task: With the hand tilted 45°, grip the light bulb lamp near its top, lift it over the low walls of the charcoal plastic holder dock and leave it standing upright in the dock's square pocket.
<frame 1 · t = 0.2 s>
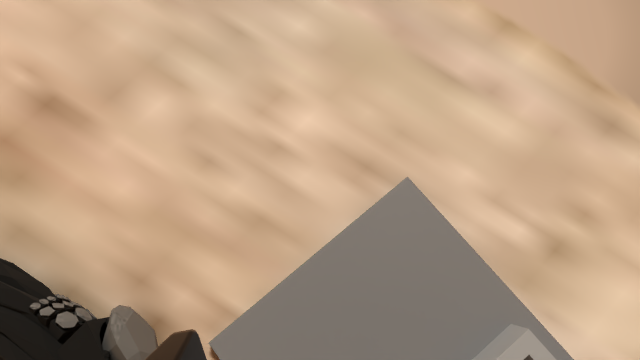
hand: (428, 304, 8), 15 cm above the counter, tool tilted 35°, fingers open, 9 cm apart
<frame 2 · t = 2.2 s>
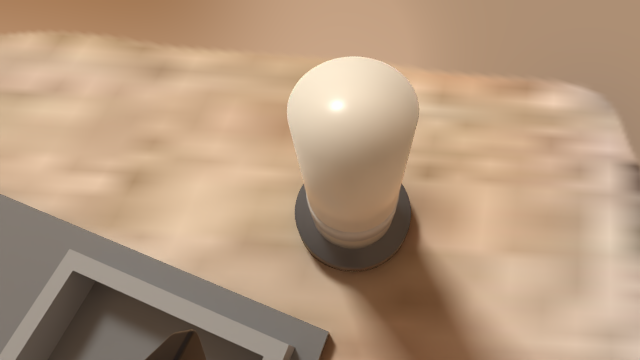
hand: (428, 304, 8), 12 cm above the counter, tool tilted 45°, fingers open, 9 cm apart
light bulb lamp: (352, 216, 22), on the counter
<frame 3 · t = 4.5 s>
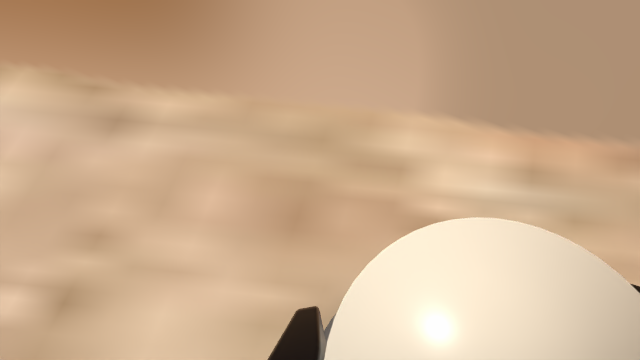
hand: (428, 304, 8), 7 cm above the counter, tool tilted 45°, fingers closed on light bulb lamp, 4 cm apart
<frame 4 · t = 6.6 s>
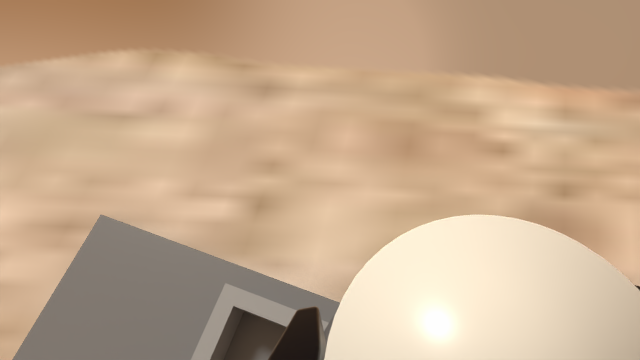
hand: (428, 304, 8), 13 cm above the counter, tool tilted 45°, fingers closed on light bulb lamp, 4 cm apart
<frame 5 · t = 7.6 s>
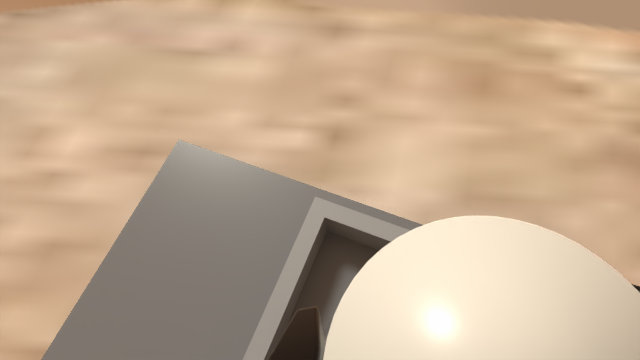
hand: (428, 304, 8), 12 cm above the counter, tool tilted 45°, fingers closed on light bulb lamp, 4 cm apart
when the fingers open (9 cm above the counter, at t = 8.6 s): light bulb lamp stays where it is, resting on holder dock.
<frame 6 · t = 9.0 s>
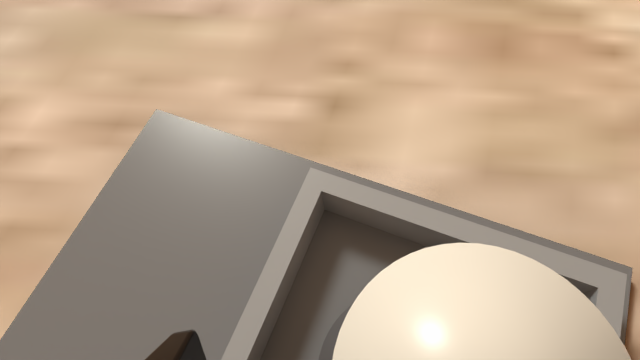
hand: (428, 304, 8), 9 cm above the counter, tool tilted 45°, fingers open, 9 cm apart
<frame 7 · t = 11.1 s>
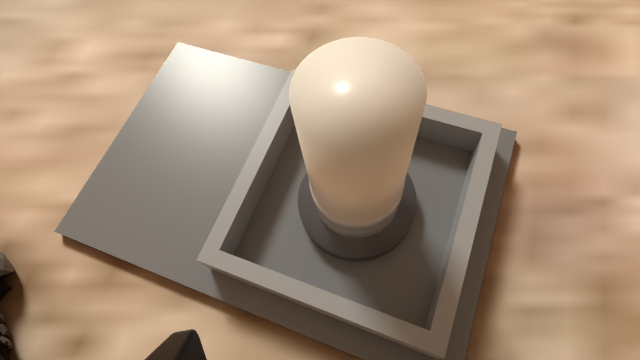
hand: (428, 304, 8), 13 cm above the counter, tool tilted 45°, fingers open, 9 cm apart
light bulb lamp: (356, 204, 22), point 1 cm above the counter, touching holder dock
holder dock: (355, 207, 22), on the counter
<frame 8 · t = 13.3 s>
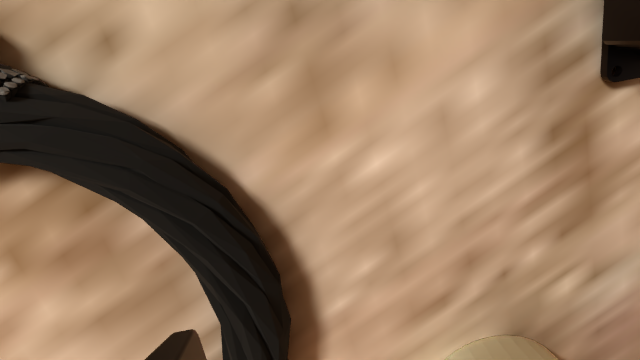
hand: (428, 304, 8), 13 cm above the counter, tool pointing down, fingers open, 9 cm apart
cable lock: (40, 303, 23), on the counter
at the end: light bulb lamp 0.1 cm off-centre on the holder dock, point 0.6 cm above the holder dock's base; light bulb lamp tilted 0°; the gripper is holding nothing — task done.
